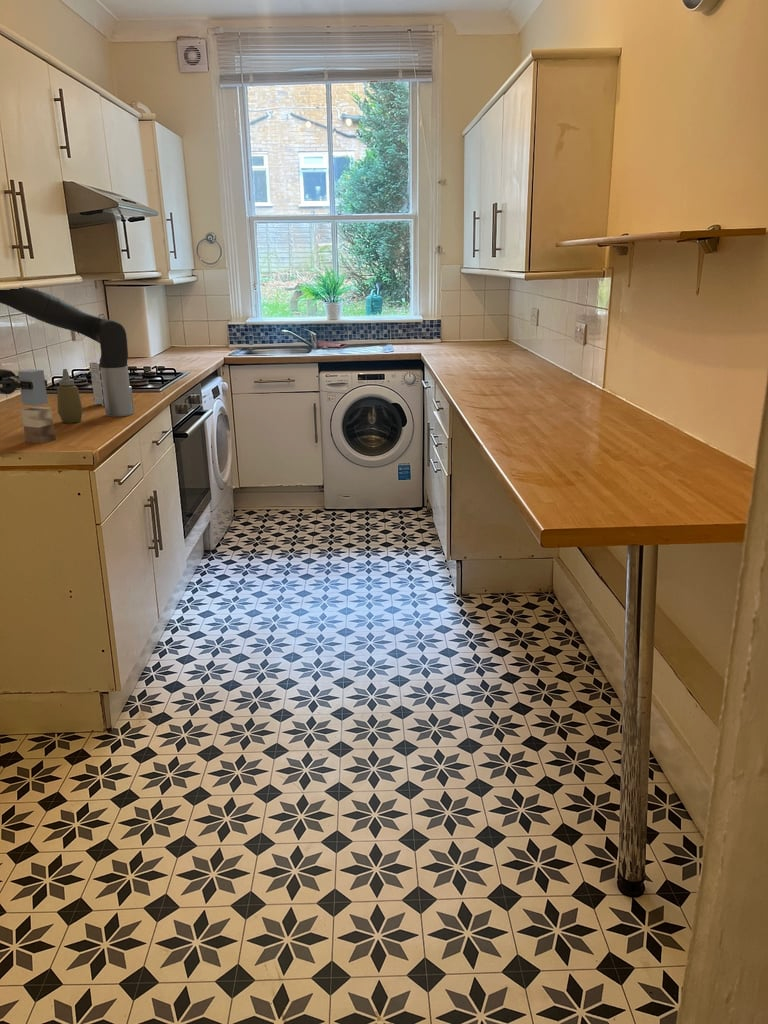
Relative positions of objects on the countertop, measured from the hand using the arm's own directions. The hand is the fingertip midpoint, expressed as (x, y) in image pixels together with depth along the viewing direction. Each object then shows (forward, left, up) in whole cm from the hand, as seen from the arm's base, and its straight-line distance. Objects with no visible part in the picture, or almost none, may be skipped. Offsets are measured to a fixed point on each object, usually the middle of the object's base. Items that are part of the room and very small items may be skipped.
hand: (39, 384), depth 232 cm
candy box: (-63, -28, -18) cm, 71 cm away
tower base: (0, -3, -18) cm, 18 cm away
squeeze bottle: (-27, -16, -18) cm, 36 cm away
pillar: (0, -3, -6) cm, 7 cm away
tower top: (0, -3, -13) cm, 13 cm away
